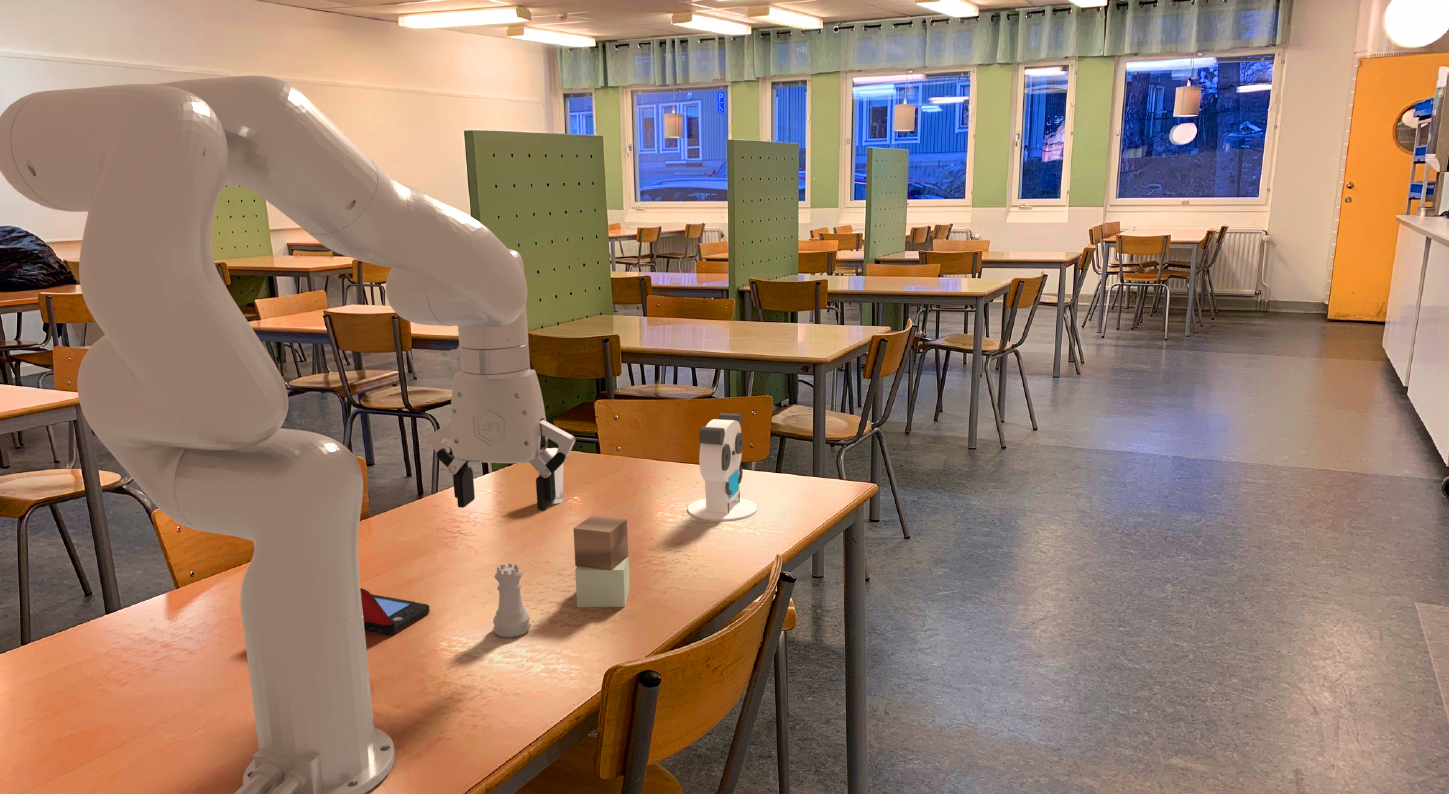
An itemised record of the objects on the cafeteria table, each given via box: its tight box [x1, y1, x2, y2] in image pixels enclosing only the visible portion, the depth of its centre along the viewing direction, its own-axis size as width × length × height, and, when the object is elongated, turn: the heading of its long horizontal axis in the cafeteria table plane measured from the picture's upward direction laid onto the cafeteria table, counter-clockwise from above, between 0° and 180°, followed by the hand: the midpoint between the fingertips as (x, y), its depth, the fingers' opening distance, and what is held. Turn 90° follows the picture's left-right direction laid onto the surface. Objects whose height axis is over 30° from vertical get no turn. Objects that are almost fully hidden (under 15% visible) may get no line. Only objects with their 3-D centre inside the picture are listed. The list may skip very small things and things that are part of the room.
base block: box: [574, 554, 631, 608], centre depth 124 cm, size 6×6×5 cm
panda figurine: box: [687, 412, 759, 522], centre depth 156 cm, size 12×11×15 cm
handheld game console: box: [360, 587, 431, 637], centre depth 118 cm, size 12×11×7 cm
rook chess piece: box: [492, 562, 532, 639], centre depth 114 cm, size 4×4×8 cm
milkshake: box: [546, 447, 565, 505], centre depth 162 cm, size 4×5×10 cm
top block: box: [573, 515, 629, 570], centre depth 123 cm, size 5×5×5 cm
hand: (505, 505), depth 112 cm, fingers open, 9 cm apart
